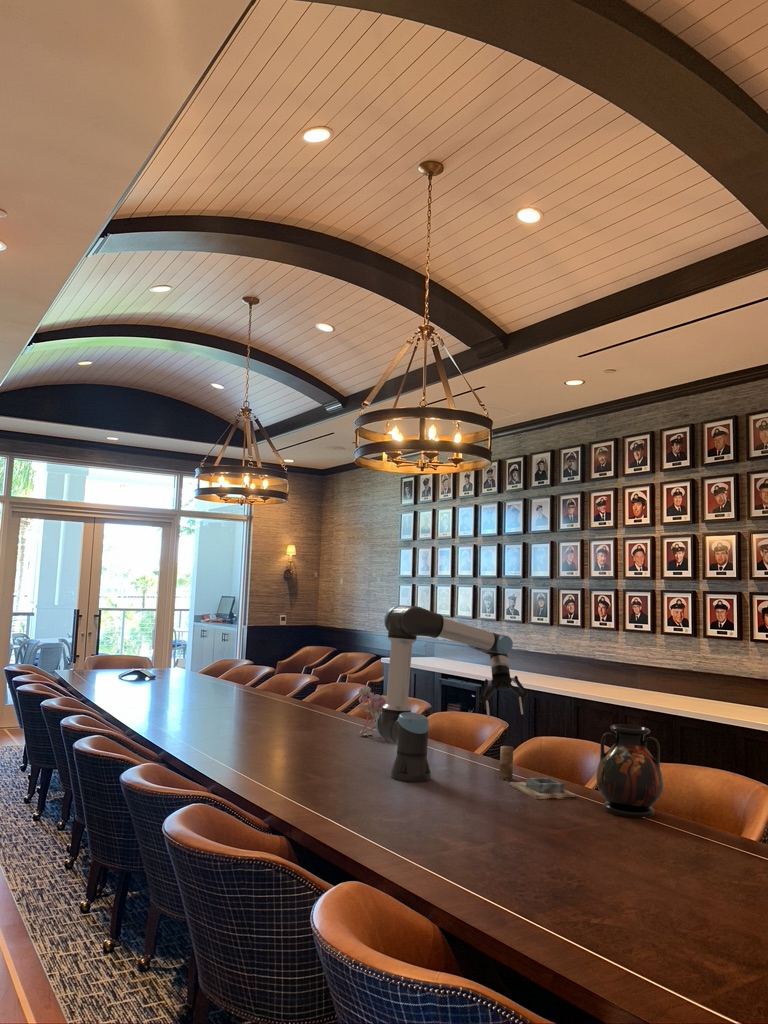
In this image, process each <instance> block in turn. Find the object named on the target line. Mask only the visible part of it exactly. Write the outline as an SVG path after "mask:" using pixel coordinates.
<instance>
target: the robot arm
mask: <svg viewBox="0 0 768 1024" xmlns="http://www.w3.org/2000/svg"><path fill="white" fill-rule="evenodd" d="M383 621H384V622H383V623H384V627H385V629H386V630H387V639H388V640H389V642H390V652H389V654H390V655H389V662H388V663H389V665H388V678H387V688H386V698H387V699H386V704H384V705H383V706H382V711H380V715H379V716H378V717H377V719H376V728H375V730H376V733H377V734H378V736H379V737H380V738H381V739H383V740H384V741H386V742H387V743H392V744H394V745H396V755H395V756H396V757H395V759H394V762H393V765H392V767H391V770H390V778H392V779H394V780H398V781H402V782H403V781H404V782H409V783H410V782H411V783H412V782H415V783H418V782H420V783H421V782H422V783H423V782H427V781H430V780H431V779H432V776H431V775H432V773H431V769H430V764H429V760H428V746H429V745H428V744H429V730H430V726H429V719H428V717H427V716H425V715H423V714H421V713H416V712H411V710H412V709H411V707H410V706H409V705H408V701H409V688H410V678H411V664H412V653H413V652H412V651H413V645H414V643H415V642H416V641H417V639H418V638H417V637H429V638H433V639H438V638H442V639H446V640H450V641H453V642H457V643H460V644H461V643H462V644H463V645H467V646H468V647H469V648H472V649H473V650H476V651H479V652H482V653H484V654H485V655H489V659H490V668H491V679H489V680H488V679H487V678H486V679H485V680H484V684H483V687H482V690H481V692H480V695H479V696H478V701H479V703H483V710H485V711H486V715H487V718H488V719H490V718H491V715H490V705H489V704H490V703H489V700H490V699H491V698H492V697H493V695H494V693H496V692H497V691H498V690H499V691H501V690H507V689H509V690H510V691H511V692H513V693H514V694H515V695H516V696H517V697H518V701H519V707H520V714H521V715H524V710H523V707H525V705H526V703H525V701H526V700H525V699H526V698H528V697H529V693H528V691H527V690H526V688H525V687H524V685H523V684H522V683H521V682H520V680H519V677H518V675H515V676H514V677H511V673H510V663H509V656H508V654H510V652H511V651H512V650H513V645H514V644H513V639H512V638H511V637H510V635H505V634H499V633H497V632H496V633H495V632H493V631H492V632H491V631H489V630H485V629H482V628H480V627H475V626H473V625H472V626H471V625H469V624H465V623H461V622H459V621H455V620H451V619H449V618H448V619H447V618H444V616H443V615H442V614H440V613H437V612H435V611H432V610H430V609H429V610H428V609H426V608H423V607H420V606H416V605H405V604H402V605H395V606H393V607H390V609H389V610H387V612H386V614H385V615H384V620H383ZM512 682H513V683H515V684H516V686H517V687H518V688H519V689H517V688H516V687H515V686H514V685H513V684H512ZM491 685H492V686H491ZM490 686H491V688H490V689H489V687H490Z"/></svg>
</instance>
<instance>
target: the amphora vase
mask: <svg viewBox="0 0 768 1024" xmlns="http://www.w3.org/2000/svg"><path fill="white" fill-rule="evenodd" d="M609 727H610V729H611V731H613V732H614V733H615V734H616V735H614V734H613V733H611V732H605V733H603V735H602V737H601V739H600V747H599V748H600V751H599V752H600V753H599V762H598V766H597V770H596V774H595V775H596V777H595V779H596V786H597V789H598V791H599V792H600V793H599V794H600V795H601V796H602V798H603V799H604V800H606V801H605V802H604V803H603V804H602V805H603V808H604V810H605V811H606V812H608V813H610V814H612V815H615V816H618V815H619V817H623V816H624V818H629V817H633V818H632V819H643V818H642V817H648V818H650V817H649V816H651V817H653V816H654V815H655V813H656V812H655V809H654V808H655V807H653V806H654V805H656V803H657V802H658V801H659V799H660V798H661V797H662V794H663V791H664V780H663V774H662V771H661V749H660V743H659V742H658V739H657V738H655V737H652V736H649V737H647V738H645V736H646V735H649V734H650V733H651V730H650V729H649V727H648V728H647V727H645V726H641V725H633V724H619V723H618V724H612V725H610V726H609ZM607 737H611V738H612V740H613V744H612V746H611V747H610V748H609V749H607V751H605V741H606V738H607ZM644 738H645V739H644ZM648 742H652V743H654V745H655V758H654V756H653V755H652V754H651V752H650V751H649V750H648V748H647V745H648ZM652 815H653V816H652Z"/></svg>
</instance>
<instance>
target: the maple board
mask: <svg viewBox="0 0 768 1024" xmlns="http://www.w3.org/2000/svg"><path fill="white" fill-rule="evenodd" d="M510 785H511V786H512V788H513V787H514V789H515V788H516V789H515V790H517V789H518V790H517V791H519V790H520V791H519V792H521V793H523V794H525V795H527V796H530V797H531V798H533V799H535V800H548V799H549V798H557V799H564V798H563V797H575V796H576V797H577V795H576V793H573V792H571V791H569V790H567V789H565V783H563V782H561V781H559V780H556V779H554V778H552V777H527V778H525V781H510V782H509V786H510ZM511 786H510V787H511ZM547 798H548V799H547Z"/></svg>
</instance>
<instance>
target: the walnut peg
mask: <svg viewBox="0 0 768 1024" xmlns="http://www.w3.org/2000/svg"><path fill="white" fill-rule="evenodd" d="M513 771H514V747H513V746H509V745H502V746H500V756H499V777H500V778H503V779H512V780H513ZM500 778H499V779H500Z"/></svg>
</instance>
